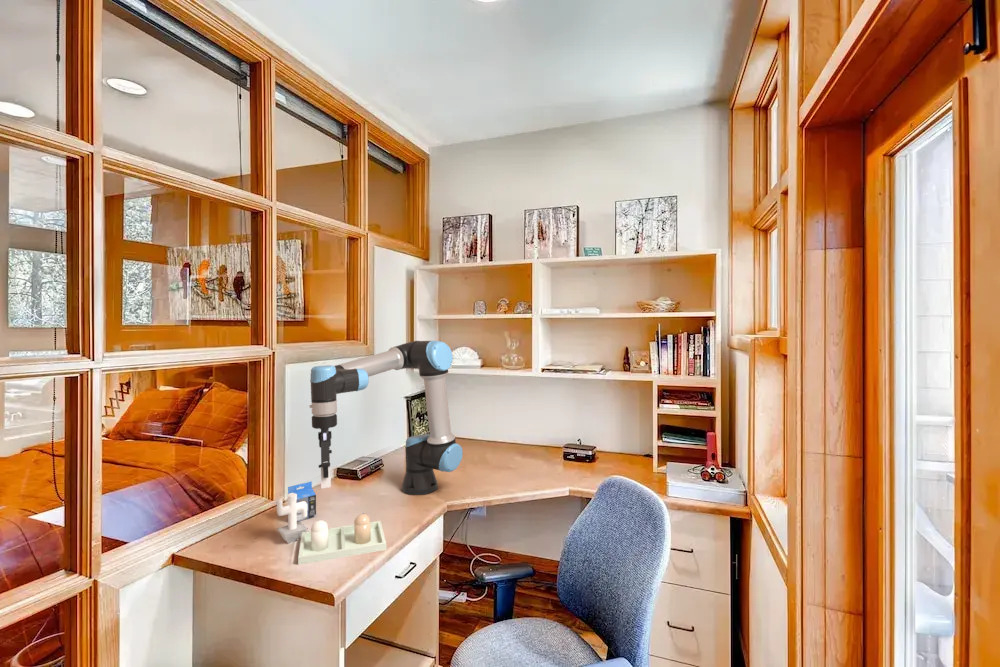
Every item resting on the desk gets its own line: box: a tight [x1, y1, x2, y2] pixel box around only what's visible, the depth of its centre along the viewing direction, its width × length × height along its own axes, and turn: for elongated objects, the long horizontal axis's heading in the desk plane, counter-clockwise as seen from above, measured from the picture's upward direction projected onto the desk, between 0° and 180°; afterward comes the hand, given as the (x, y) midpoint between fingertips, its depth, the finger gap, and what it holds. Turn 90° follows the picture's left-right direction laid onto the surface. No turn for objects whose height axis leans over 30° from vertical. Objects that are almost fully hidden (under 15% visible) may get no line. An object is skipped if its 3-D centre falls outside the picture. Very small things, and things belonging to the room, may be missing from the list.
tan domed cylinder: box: [353, 513, 371, 544], centre depth 148 cm, size 5×5×8 cm
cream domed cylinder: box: [310, 519, 329, 552], centre depth 144 cm, size 5×5×8 cm
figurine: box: [276, 493, 308, 544], centre depth 152 cm, size 7×9×15 cm
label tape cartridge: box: [287, 481, 317, 522], centre depth 169 cm, size 9×4×12 cm, turn 135°
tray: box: [297, 520, 387, 566], centre depth 146 cm, size 25×18×3 cm
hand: (326, 480), depth 147 cm, fingers open, 13 cm apart
